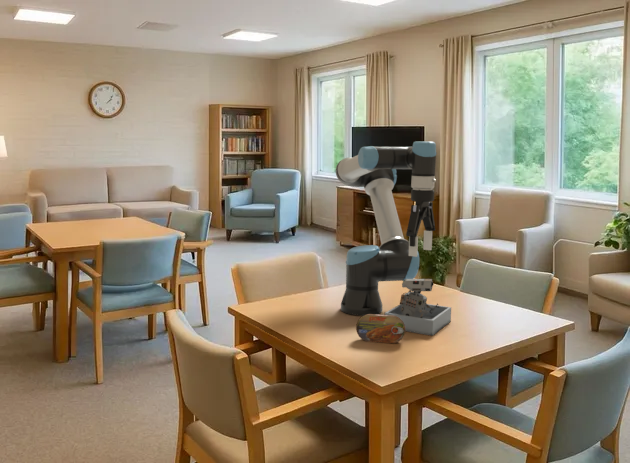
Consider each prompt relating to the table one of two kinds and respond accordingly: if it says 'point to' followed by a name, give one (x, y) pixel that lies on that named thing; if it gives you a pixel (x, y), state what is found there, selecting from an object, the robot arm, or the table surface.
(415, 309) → the figurine
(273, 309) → the table surface
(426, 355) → the table surface
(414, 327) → the bin
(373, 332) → the tin
